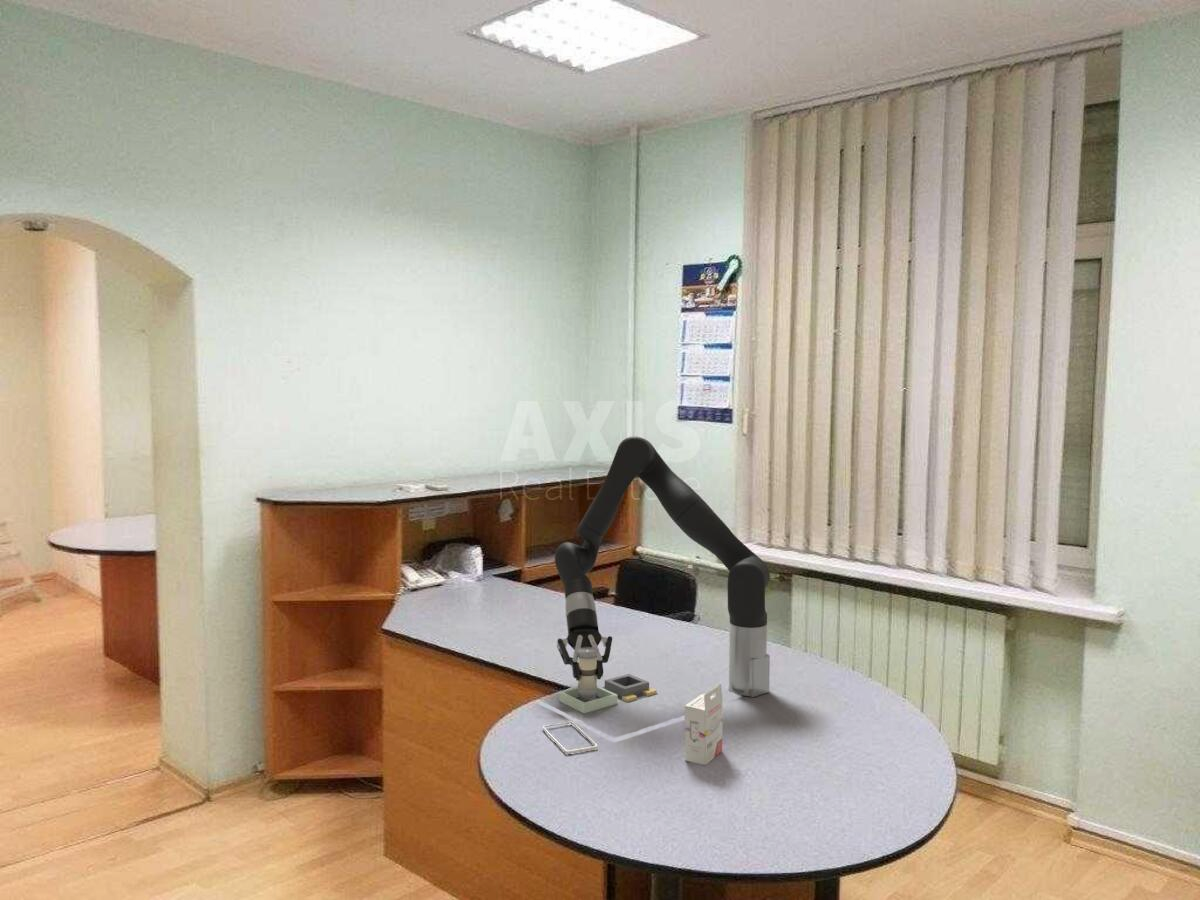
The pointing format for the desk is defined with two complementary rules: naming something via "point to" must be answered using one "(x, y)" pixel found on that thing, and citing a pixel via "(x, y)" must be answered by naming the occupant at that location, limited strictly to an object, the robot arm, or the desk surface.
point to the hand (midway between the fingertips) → (588, 678)
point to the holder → (629, 688)
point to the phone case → (575, 749)
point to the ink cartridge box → (704, 727)
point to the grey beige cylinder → (587, 672)
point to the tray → (584, 707)
